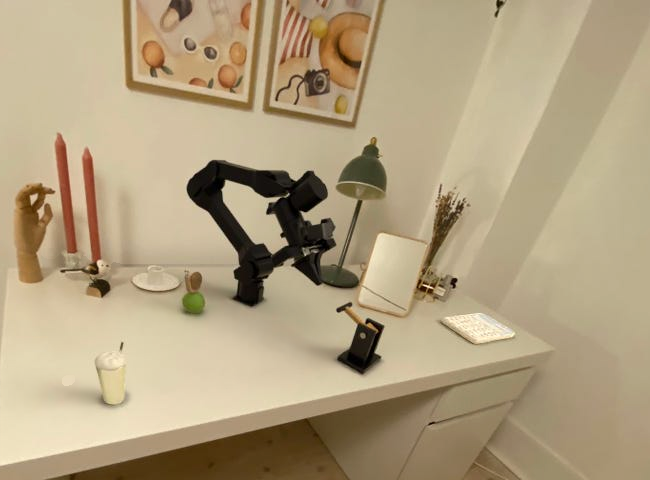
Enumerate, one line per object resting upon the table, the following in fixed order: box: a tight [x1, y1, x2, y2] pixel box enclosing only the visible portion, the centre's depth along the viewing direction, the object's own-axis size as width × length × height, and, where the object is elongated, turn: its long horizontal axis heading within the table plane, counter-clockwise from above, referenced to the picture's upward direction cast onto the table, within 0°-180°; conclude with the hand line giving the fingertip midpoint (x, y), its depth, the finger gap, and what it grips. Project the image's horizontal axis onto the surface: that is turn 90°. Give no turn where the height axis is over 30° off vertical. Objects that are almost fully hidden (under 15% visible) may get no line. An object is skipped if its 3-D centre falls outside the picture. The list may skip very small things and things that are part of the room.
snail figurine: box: [181, 269, 206, 314], centre depth 90 cm, size 5×6×12 cm
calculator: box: [441, 312, 516, 345], centre depth 116 cm, size 13×20×2 cm, turn 118°
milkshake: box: [94, 341, 127, 406], centre depth 62 cm, size 4×5×10 cm
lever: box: [335, 301, 378, 334], centre depth 85 cm, size 10×6×2 cm, turn 51°
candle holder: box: [132, 264, 181, 292], centre depth 102 cm, size 12×12×4 cm
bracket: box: [337, 317, 385, 375], centre depth 86 cm, size 7×9×10 cm
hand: (319, 284), depth 89 cm, fingers closed
